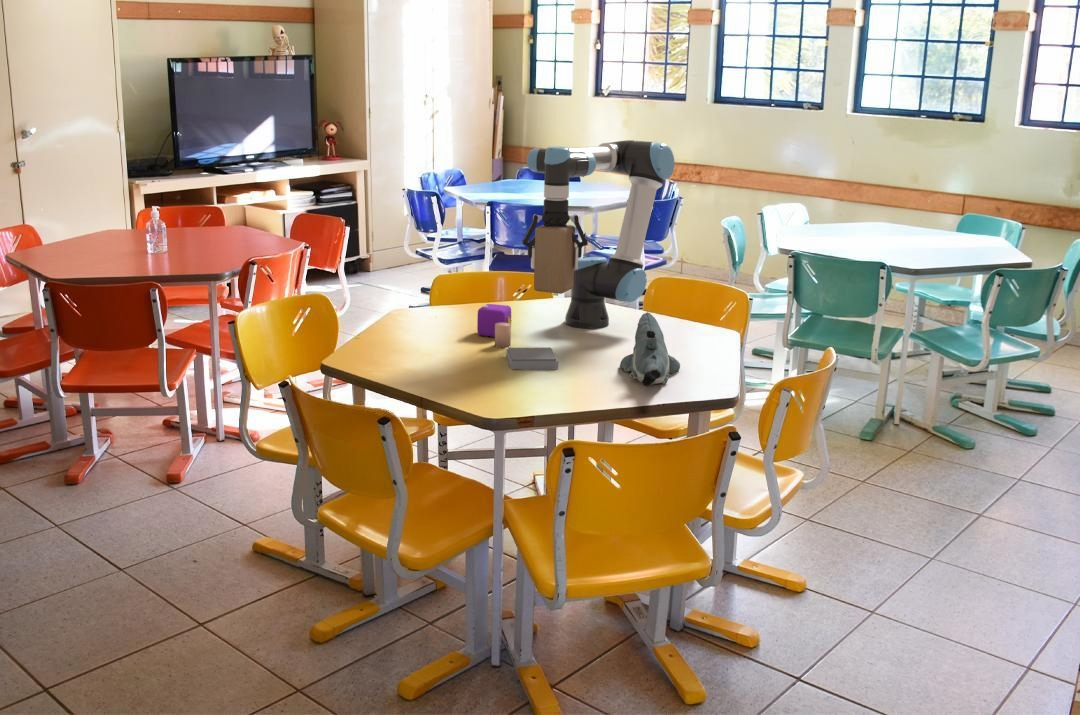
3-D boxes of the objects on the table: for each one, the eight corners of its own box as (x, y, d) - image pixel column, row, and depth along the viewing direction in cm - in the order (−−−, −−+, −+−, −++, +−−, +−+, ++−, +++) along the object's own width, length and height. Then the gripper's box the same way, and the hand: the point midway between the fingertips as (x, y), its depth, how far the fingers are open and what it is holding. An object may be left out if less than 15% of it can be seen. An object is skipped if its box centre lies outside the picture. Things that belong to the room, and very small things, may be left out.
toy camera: (514, 329, 356) (514, 300, 353) (508, 339, 342) (509, 309, 340) (482, 327, 357) (482, 298, 354) (476, 337, 343) (476, 307, 341)
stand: (551, 356, 324) (551, 347, 323) (557, 369, 310) (558, 359, 309) (506, 356, 322) (506, 347, 321) (510, 369, 309) (510, 359, 308)
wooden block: (574, 288, 329) (576, 225, 324) (562, 294, 320) (564, 229, 315) (544, 285, 333) (546, 222, 327) (532, 291, 324) (533, 226, 318)
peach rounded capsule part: (509, 343, 337) (510, 322, 335) (511, 347, 332) (511, 326, 330) (494, 343, 336) (494, 322, 335) (495, 347, 332) (495, 326, 330)
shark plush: (682, 366, 317) (685, 314, 313) (662, 404, 281) (666, 346, 277) (625, 360, 322) (627, 309, 317) (598, 397, 286) (601, 339, 281)
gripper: (594, 197, 324) (591, 265, 330) (514, 196, 321) (513, 265, 327) (598, 200, 317) (596, 270, 322) (516, 200, 314) (515, 270, 319)
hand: (554, 268), depth 325 cm, fingers closed on wooden block, 13 cm apart
